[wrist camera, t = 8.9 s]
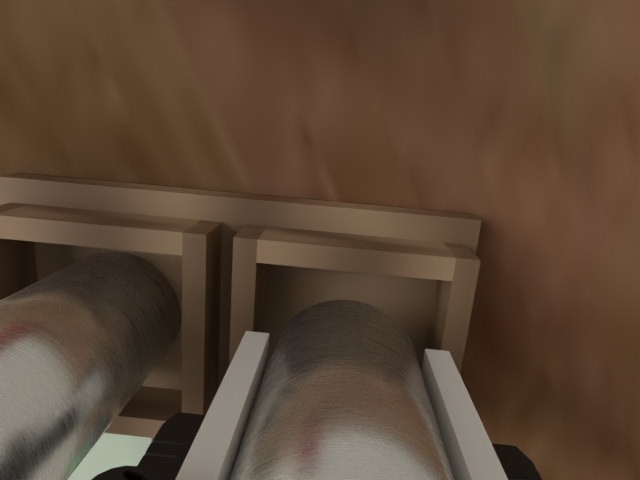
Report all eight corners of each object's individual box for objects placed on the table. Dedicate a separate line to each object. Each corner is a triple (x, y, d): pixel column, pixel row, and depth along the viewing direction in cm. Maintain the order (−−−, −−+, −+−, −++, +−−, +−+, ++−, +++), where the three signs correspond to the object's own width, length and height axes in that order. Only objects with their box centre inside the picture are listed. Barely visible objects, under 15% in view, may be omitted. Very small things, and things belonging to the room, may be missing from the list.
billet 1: (62, 361, 19) (-245, 617, 9) (53, 245, 17) (-314, 397, 8) (180, 374, 18) (-1, 648, 9) (180, 257, 17) (-32, 428, 8)
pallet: (38, 393, 20) (-17, 440, 17) (19, 173, 18) (-49, 183, 15) (434, 435, 20) (451, 492, 17) (472, 213, 17) (500, 233, 14)
